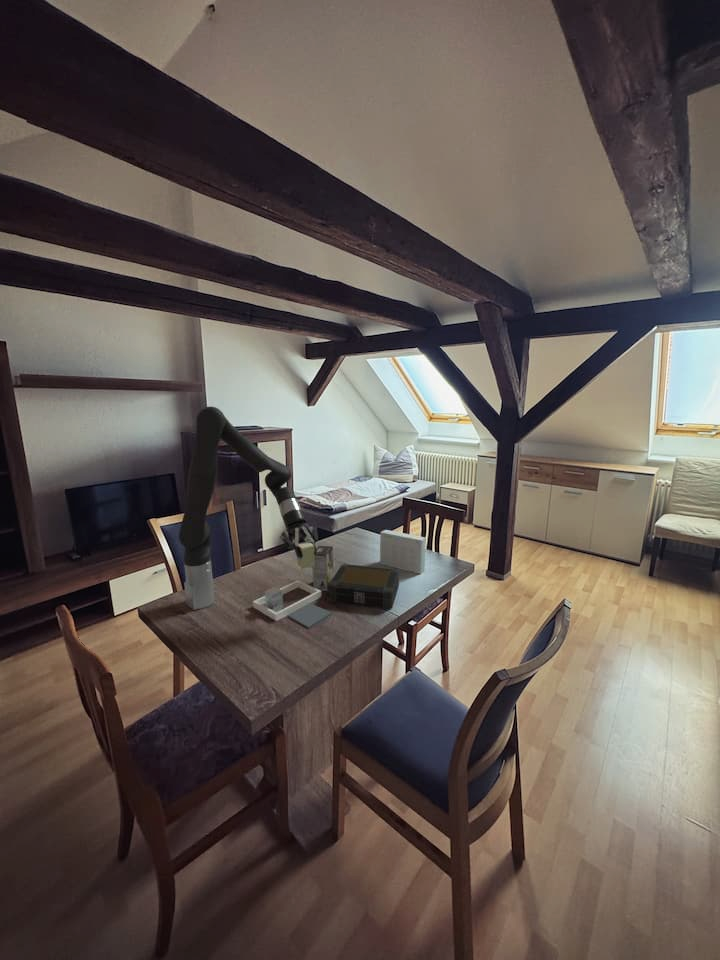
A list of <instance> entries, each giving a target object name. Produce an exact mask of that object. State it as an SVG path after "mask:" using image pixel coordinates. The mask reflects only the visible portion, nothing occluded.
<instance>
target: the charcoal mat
mask: <svg viewBox="0 0 720 960" xmlns="http://www.w3.org/2000/svg"><path fill="white" fill-rule="evenodd" d="M330 616H332V612H330V611H328V610H326V609H324V608H322V607H320V606H318V605H316V604H315V603H312V602H311V603H309V604H307V605H305V606H303V607H302V608H300V609H298V610H296V611H294V612H292V613H291V614H289V615H287V617H288V618H289V619H292V620H293V621H294V622H296V623H298V624H300V625H302V626H304V627H305V628H306V629H311V628H312V627H314V626H315V625H317V624H318V623H320V622H321V621H324V620H325V619H326V618H328V617H330Z"/></svg>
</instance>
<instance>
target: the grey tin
mask: <svg viewBox="0 0 720 960" xmlns="http://www.w3.org/2000/svg"><path fill="white" fill-rule="evenodd" d="M264 596H265V602H266V603H265V606H266V607H268V608H269V609H271V610H273V611H275V612H276V613H277V612H279V611H281V610H282V609H284V599H283V595H282V590H280V588H278V587H277V586H273V587H271V588H268V589H266V590H265V591H264Z"/></svg>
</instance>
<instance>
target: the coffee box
mask: <svg viewBox="0 0 720 960" xmlns="http://www.w3.org/2000/svg"><path fill="white" fill-rule="evenodd" d="M316 549H317V552H316V554H315V555H314V559H315V566H312V582H313V584H312V585H313V586H312V587H314V588H316V589H318V590H320V591H321V592H323V591H324V592H329V583H330V582H331V580H332V579H333V577H334V552H333V551H334V550H333V549H334V548H333V546H331V545H329V546H327V545H318V546H317V547H316Z"/></svg>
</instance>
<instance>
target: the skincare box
mask: <svg viewBox="0 0 720 960" xmlns="http://www.w3.org/2000/svg"><path fill="white" fill-rule="evenodd" d="M426 538H427V537H425V536H419V535H414V534H409V533H404V532H401V531H400V532H398V531H395V530H389V529H384V530H382V531H380V538H379V539H380V542H379V543H380V544H379V565H384V566H386V567H391V568H393V569H397V570H398V569H399V570H402V571H408V572H410V573H416V574H418V575H421V574H422V573H423V572H424V571H425V569H426V568H425V567H426V566H425V565H426V563H425V562H426V544H427V543H426V541H427V540H426Z"/></svg>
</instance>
